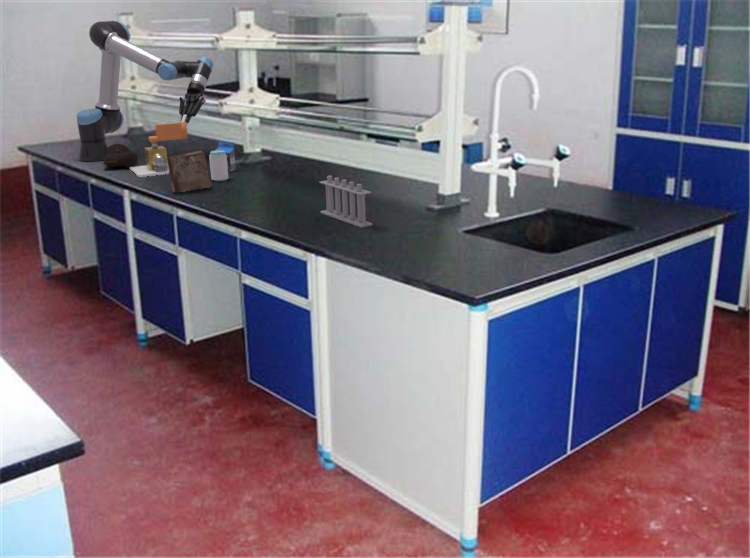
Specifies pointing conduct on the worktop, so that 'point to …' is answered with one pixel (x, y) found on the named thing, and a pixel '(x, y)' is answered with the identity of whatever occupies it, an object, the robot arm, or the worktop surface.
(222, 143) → the label tape cartridge
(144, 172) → the mount board
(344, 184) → the test tube rack
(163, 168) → the valve
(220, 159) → the can
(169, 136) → the lever
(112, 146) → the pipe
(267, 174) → the worktop surface
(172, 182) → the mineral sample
